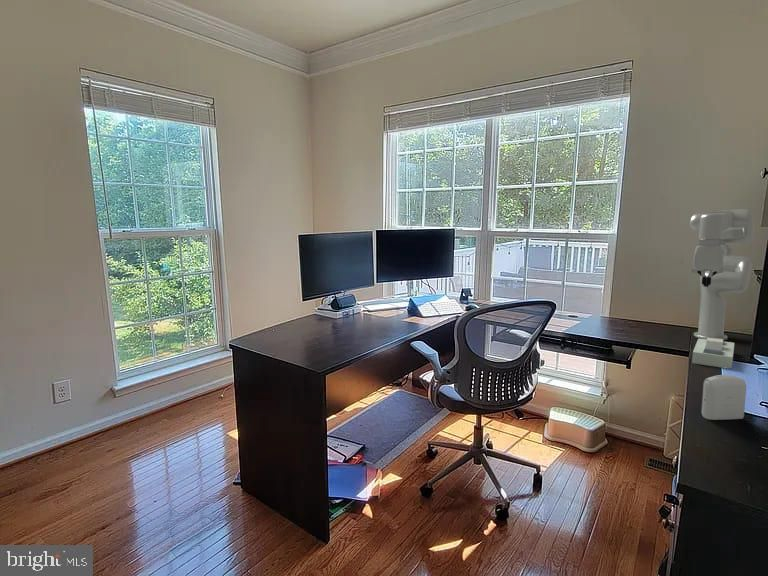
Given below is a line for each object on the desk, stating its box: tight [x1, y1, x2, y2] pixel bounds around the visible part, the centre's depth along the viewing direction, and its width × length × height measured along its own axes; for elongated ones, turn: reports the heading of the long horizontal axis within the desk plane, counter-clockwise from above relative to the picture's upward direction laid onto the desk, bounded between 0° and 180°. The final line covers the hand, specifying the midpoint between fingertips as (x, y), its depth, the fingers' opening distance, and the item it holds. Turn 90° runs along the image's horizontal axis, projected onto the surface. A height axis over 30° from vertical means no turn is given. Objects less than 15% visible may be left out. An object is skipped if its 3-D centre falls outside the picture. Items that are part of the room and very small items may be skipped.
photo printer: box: [700, 374, 747, 421], centre depth 118 cm, size 10×4×12 cm, turn 90°
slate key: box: [704, 346, 722, 355], centre depth 163 cm, size 5×5×4 cm
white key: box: [706, 338, 723, 348], centre depth 169 cm, size 5×5×4 cm
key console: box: [691, 338, 735, 369], centre depth 169 cm, size 24×12×4 cm, turn 139°
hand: (706, 286), depth 180 cm, fingers closed
